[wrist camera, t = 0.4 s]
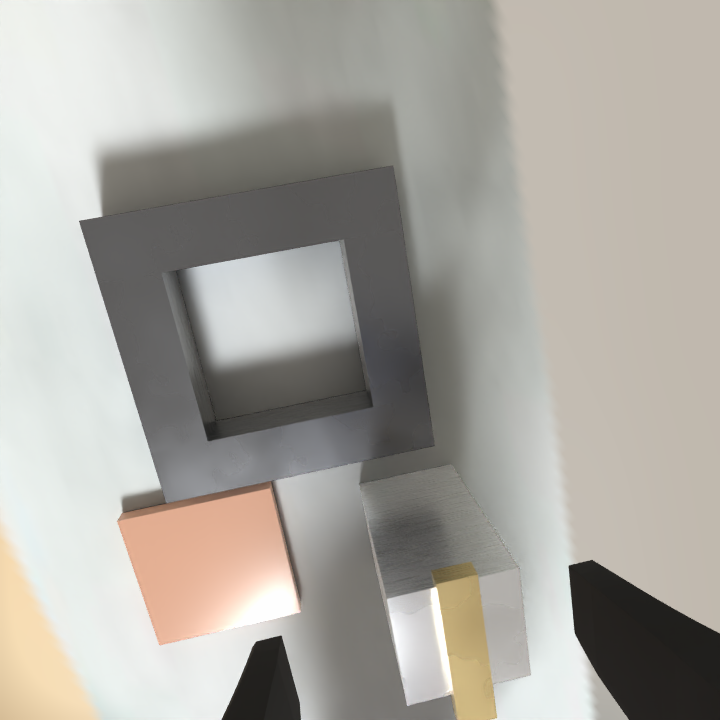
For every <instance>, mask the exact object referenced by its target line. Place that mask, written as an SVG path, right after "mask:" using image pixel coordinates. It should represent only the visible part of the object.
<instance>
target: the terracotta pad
mask: <svg viewBox="0 0 720 720" xmlns="http://www.w3.org/2000/svg"><path fill="white" fill-rule="evenodd" d="M117 522H118V525H119V528H120V531H121V534H122V537H123V540H124V543H125V545H126V548H127V551H128V554H129V557H130V560H131V563H132V566H133V569H134V572H135V575H136V578H137V581H138V584H139V587H140V589H141V592H142V595H143V598H144V601H145V604H146V607H147V610H148V613H149V616H150V619H151V622H152V625H153V628H154V631H155V633H156V636H157V639H158V642H159V645H163V644H168V643H172V642H176V641H180V640H185V639H189V638H193V637H198V636H202V635H206V634H210V633H215V632H219V631H223V630H228V629H232V628H236V627H241V626H245V625H249V624H253V623H258V622H262V621H266V620H271V619H275V618H279V617H283V616H288V615H292V614H296V613H301V602H300V598H299V594H298V590H297V586H296V582H295V578H294V574H293V569H292V565H291V561H290V557H289V553H288V549H287V545H286V541H285V537H284V533H283V529H282V525H281V520H280V516H279V512H278V508H277V504H276V500H275V496H274V492H273V488H272V484H271V481H269V482H265V483H260V484H255V485H251V486H246V487H241V488H237V489H232V490H227V491H223V492H218V493H213V494H209V495H204V496H199V497H195V498H190V499H185V500H181V501H176V502H172V503H167V504H162V505H158V506H153V507H148V508H144V509H139V510H134V511H130V512H125V513H122V514H121V516H120V518H119V519H118V521H117Z"/></svg>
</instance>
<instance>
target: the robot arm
mask: <svg viewBox="0 0 720 720" xmlns="http://www.w3.org/2000/svg"><path fill="white" fill-rule="evenodd" d="M569 576H570V587H571V597H572V608H573V619H574V630H575V635H576V637H577V638H578V640H579V642H580V644H581V646H582V648H583V650H584V651H585V653H586V655H587V657H588V659H589V660H590V662H591V664H592V666H593V667H594V669H595V671H596V673H597V674H598V676H599V677H600V679H601V680H602V682H603V683H604V685H605V686H606V687H607V689H608V690H609V692H610V693H611V695H612V696H613V698H614V699H615V700H616V702H617V703H618V705H619V706H620V708H621V709H622V710H623V712H624V713H625V715H626V716H627V717H628V719H629V720H720V633H718V632H716V631H714V630H712V629H710V628H708V627H706V626H704V625H702V624H700V623H699V622H696V621H695V620H693V619H691V618H689V617H687V616H686V615H684V614H682V613H680V612H678V611H677V610H675V609H673V608H671V607H669V606H668V605H666V604H664V603H663V602H661V601H659V600H657V599H656V598H654V597H652V596H651V595H649V594H647V593H646V592H644V591H642V590H640V589H639V588H637V587H636V586H634V585H632V584H630V583H629V582H627V581H626V580H624V579H622V578H621V577H619V576H618V575H616V574H614V573H613V572H611V571H609V570H608V569H606V568H604V567H603V566H601V565H600V564H598V563H596V562H595V561H593V560H590V561H586V562H582V563H578V564H573V565H569ZM222 720H301V716H300V702H299V698H298V695H297V691H296V687H295V684H294V680H293V676H292V673H291V669H290V665H289V661H288V658H287V654H286V650H285V647H284V643H283V639H282V636H278V637H273V638H269V639H265V640H261V641H257V642H256V643H255V644H254V646H253V647H252V650H251V653H250V655H249V658H248V660H247V663H246V666H245V668H244V671H243V673H242V675H241V678H240V680H239V682H238V685H237V687H236V689H235V692H234V694H233V696H232V698H231V701H230V703H229V705H228V707H227V709H226V711H225V713H224V716H223V718H222Z"/></svg>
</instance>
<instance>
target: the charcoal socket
mask: <svg viewBox="0 0 720 720" xmlns="http://www.w3.org/2000/svg"><path fill="white" fill-rule="evenodd" d="M79 222H80V226H81V229H82V232H83V235H84V238H85V242H86V245H87V248H88V251H89V255H90V258H91V261H92V264H93V268H94V271H95V274H96V277H97V281H98V284H99V287H100V290H101V294H102V297H103V300H104V303H105V306H106V310H107V313H108V316H109V319H110V323H111V326H112V329H113V332H114V336H115V339H116V342H117V345H118V349H119V352H120V355H121V358H122V362H123V365H124V368H125V371H126V374H127V378H128V381H129V384H130V387H131V391H132V394H133V397H134V400H135V404H136V407H137V410H138V413H139V417H140V420H141V423H142V426H143V429H144V433H145V436H146V439H147V442H148V446H149V449H150V452H151V455H152V459H153V462H154V465H155V468H156V472H157V475H158V478H159V481H160V485H161V488H162V491H163V494H164V497H165V501H166V503H170V502H175V501H179V500H184V499H189V498H193V497H198V496H203V495H207V494H212V493H217V492H221V491H226V490H231V489H235V488H240V487H245V486H249V485H254V484H259V483H263V482H268V481H273V480H277V479H282V478H287V477H291V476H296V475H301V474H305V473H310V472H315V471H319V470H324V469H329V468H333V467H338V466H343V465H347V464H352V463H357V462H361V461H366V460H371V459H375V458H380V457H385V456H389V455H394V454H399V453H403V452H408V451H412V450H417V449H422V448H426V447H431V446H435V445H434V438H433V431H432V425H431V418H430V411H429V404H428V398H427V391H426V384H425V377H424V371H423V364H422V357H421V350H420V344H419V337H418V330H417V323H416V317H415V310H414V303H413V296H412V289H411V283H410V276H409V269H408V262H407V256H406V249H405V242H404V235H403V229H402V222H401V215H400V208H399V202H398V195H397V188H396V181H395V175H394V168H393V166H389V167H383V168H377V169H372V170H366V171H360V172H355V173H349V174H343V175H338V176H332V177H326V178H320V179H315V180H309V181H303V182H298V183H292V184H286V185H281V186H275V187H269V188H264V189H258V190H252V191H246V192H241V193H235V194H229V195H224V196H218V197H212V198H207V199H201V200H195V201H190V202H184V203H178V204H172V205H167V206H161V207H155V208H150V209H144V210H138V211H133V212H127V213H121V214H116V215H110V216H104V217H99V218H93V219H87V220H81V221H79ZM338 240H339V241H340V247H341V252H342V258H343V263H344V269H345V274H346V280H347V285H348V291H349V297H350V302H351V308H352V313H353V319H354V324H355V330H356V335H357V341H358V346H359V352H360V357H361V363H362V368H363V374H364V380H365V385H366V390H365V391H361V392H356V393H351V394H346V395H341V396H336V397H331V398H326V399H322V400H317V401H312V402H307V403H302V404H297V405H292V406H287V407H283V408H278V409H273V410H268V411H263V412H258V413H253V414H248V415H244V416H239V417H234V418H229V419H224V420H219V421H216V419H215V415H214V411H213V408H212V404H211V400H210V396H209V393H208V389H207V385H206V381H205V378H204V374H203V370H202V366H201V363H200V359H199V355H198V352H197V348H196V344H195V340H194V337H193V333H192V329H191V325H190V322H189V318H188V314H187V310H186V307H185V303H184V299H183V295H182V292H181V288H180V284H179V280H178V277H177V273H176V270H180V269H186V268H191V267H197V266H202V265H208V264H213V263H218V262H224V261H229V260H235V259H240V258H246V257H251V256H256V255H262V254H267V253H273V252H278V251H284V250H289V249H294V248H300V247H305V246H311V245H316V244H321V243H327V242H332V241H338Z"/></svg>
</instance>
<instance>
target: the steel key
mask: <svg viewBox="0 0 720 720" xmlns="http://www.w3.org/2000/svg"><path fill="white" fill-rule="evenodd" d="M359 486H360V492H361V497H362V502H363V507H364V512H365V517H366V522H367V527H368V533H369V538H370V543H371V548H372V553H373V558H374V563H375V568H376V572H377V577H378V581H379V585H380V590H381V594H382V598H383V603H384V607H385V611H386V616H387V620H388V624H389V629H390V633H391V637H392V642H393V646H394V650H395V655H396V659H397V663H398V668H399V672H400V676H401V681H402V685H403V689H404V694H405V698H406V702H407V706H409V705H413V704H417V703H421V702H425V701H429V700H433V699H437V698H441V697H445V696H449V695H451V698H452V704H453V710H454V713H455V716H456V720H491V719H495V718H497V714H496V706H495V699H494V691H493V684H497V683H501V682H505V681H509V680H513V679H517V678H522V677H526V676H530V675H531V673H530V663H529V654H528V645H527V636H526V627H525V617H524V608H523V599H522V590H521V581H520V571H519V567H518V566H517V564H516V562H515V561H514V559H513V558H512V556H511V555H510V553H509V552H508V550H507V549H506V547H505V545H504V544H503V542H502V541H501V539H500V538H499V536H498V535H497V533H496V532H495V530H494V529H493V527H492V525H491V524H490V522H489V521H488V519H487V518H486V516H485V515H484V513H483V512H482V510H481V509H480V507H479V505H478V504H477V502H476V501H475V499H474V498H473V496H472V495H471V493H470V492H469V490H468V489H467V487H466V485H465V484H464V482H463V481H462V479H461V478H460V476H459V475H458V473H457V472H456V470H455V469H454V467H453V465H452V464H449V465H444V466H440V467H435V468H431V469H426V470H421V471H417V472H412V473H408V474H403V475H398V476H394V477H389V478H385V479H380V480H375V481H371V482H366V483H362V484H359Z"/></svg>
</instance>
